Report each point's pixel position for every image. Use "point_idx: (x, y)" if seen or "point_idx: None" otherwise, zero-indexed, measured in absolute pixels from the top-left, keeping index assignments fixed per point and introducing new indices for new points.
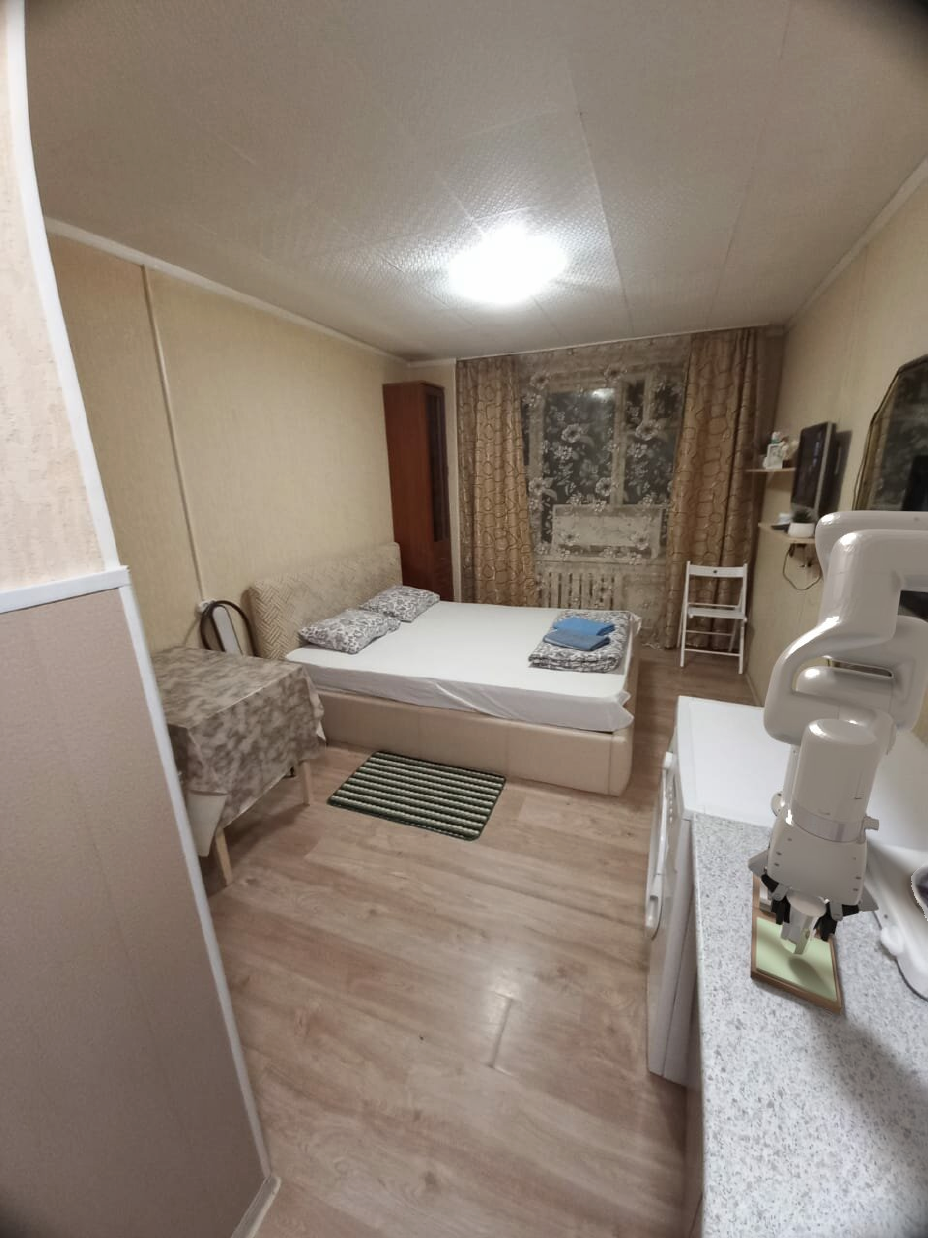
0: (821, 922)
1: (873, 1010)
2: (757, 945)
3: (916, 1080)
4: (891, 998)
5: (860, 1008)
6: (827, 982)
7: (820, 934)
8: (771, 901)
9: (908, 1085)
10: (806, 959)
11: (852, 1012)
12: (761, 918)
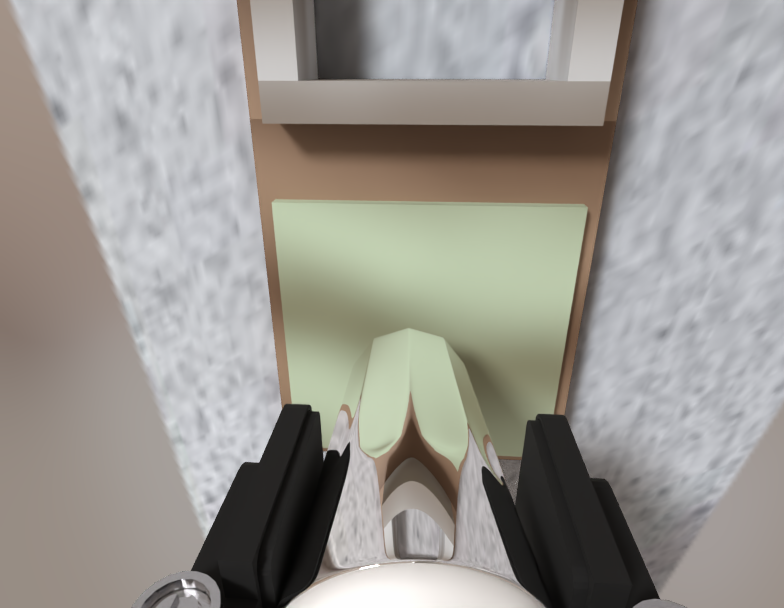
0: (533, 513)
1: (665, 382)
2: (290, 359)
3: (698, 526)
4: (756, 309)
5: (623, 392)
6: (530, 408)
7: (518, 502)
8: (234, 486)
9: (670, 543)
10: (470, 342)
11: (591, 415)
12: (291, 202)
